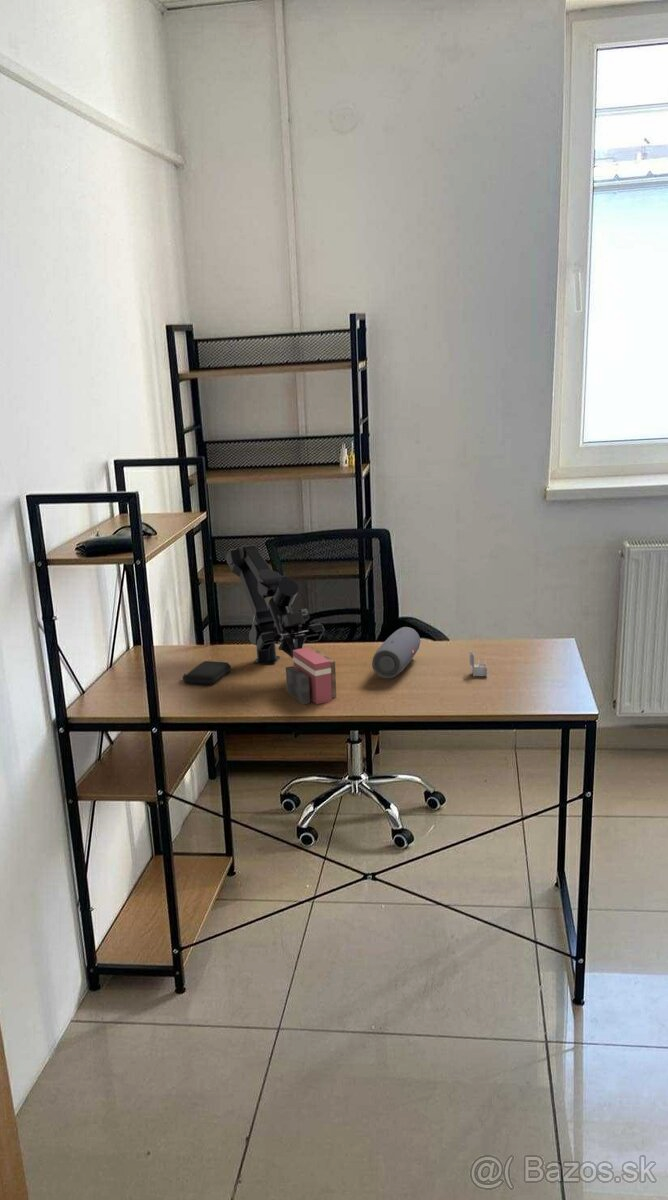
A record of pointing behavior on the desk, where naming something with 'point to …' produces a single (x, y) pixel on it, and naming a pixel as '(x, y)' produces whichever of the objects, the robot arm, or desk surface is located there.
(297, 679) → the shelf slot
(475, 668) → the architectural model
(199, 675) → the carrying case or bag
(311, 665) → the book
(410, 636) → the bluetooth speaker
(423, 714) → the desk surface
